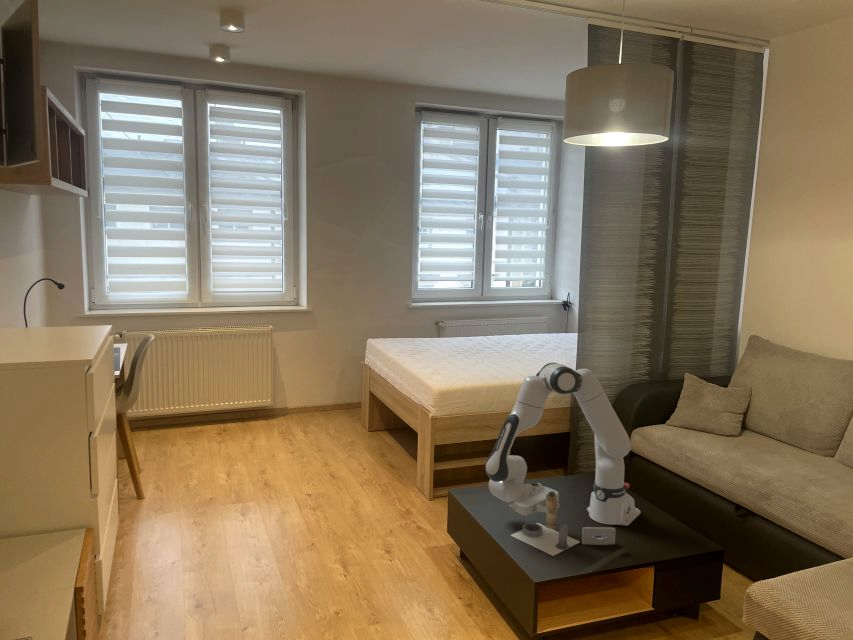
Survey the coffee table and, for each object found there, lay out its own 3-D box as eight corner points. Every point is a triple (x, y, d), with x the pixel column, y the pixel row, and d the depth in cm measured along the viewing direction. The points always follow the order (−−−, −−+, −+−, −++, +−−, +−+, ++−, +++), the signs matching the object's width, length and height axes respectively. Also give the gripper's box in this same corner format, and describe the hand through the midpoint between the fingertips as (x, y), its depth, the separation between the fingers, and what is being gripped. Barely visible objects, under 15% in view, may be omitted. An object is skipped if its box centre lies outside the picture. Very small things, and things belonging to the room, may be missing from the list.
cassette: (582, 548, 235) (583, 528, 234) (581, 546, 237) (582, 526, 236) (615, 549, 236) (616, 529, 234) (613, 546, 237) (614, 526, 236)
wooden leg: (550, 522, 240) (550, 489, 238) (558, 526, 237) (559, 492, 235) (543, 526, 237) (544, 492, 236) (552, 529, 234) (552, 495, 233)
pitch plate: (537, 526, 252) (538, 503, 251) (581, 546, 237) (582, 521, 236) (510, 538, 242) (510, 514, 241) (554, 560, 227) (555, 534, 225)
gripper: (505, 496, 239) (535, 508, 228) (541, 481, 252) (570, 492, 242) (505, 512, 240) (534, 525, 229) (541, 497, 253) (570, 508, 243)
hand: (553, 508), depth 236 cm, fingers closed on wooden leg, 4 cm apart
